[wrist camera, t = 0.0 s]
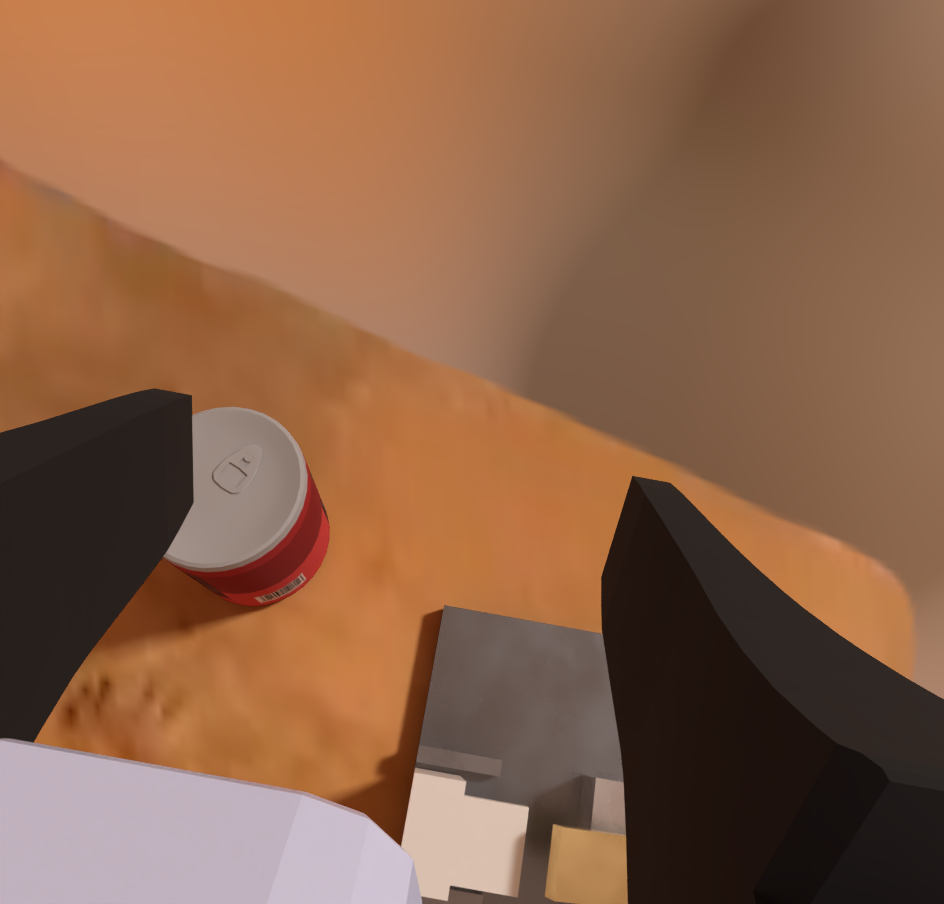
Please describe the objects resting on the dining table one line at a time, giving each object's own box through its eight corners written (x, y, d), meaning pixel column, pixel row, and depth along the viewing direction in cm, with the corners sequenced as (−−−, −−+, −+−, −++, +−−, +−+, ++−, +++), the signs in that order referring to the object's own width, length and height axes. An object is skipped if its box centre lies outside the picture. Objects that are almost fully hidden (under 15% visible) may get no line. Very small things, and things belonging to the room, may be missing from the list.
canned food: (352, 504, 45) (333, 437, 35) (296, 629, 42) (257, 596, 32) (236, 460, 46) (184, 381, 36) (173, 581, 43) (97, 533, 33)
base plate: (745, 1083, 36) (804, 1147, 31) (369, 1016, 36) (360, 1068, 31) (756, 665, 43) (806, 655, 38) (443, 608, 43) (447, 590, 38)
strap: (737, 917, 35) (753, 923, 34) (543, 895, 32) (555, 902, 31) (739, 851, 36) (754, 855, 35) (552, 823, 33) (563, 827, 32)
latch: (502, 889, 37) (515, 913, 32) (396, 870, 37) (393, 891, 32) (516, 785, 39) (530, 793, 34) (415, 767, 39) (414, 772, 34)
